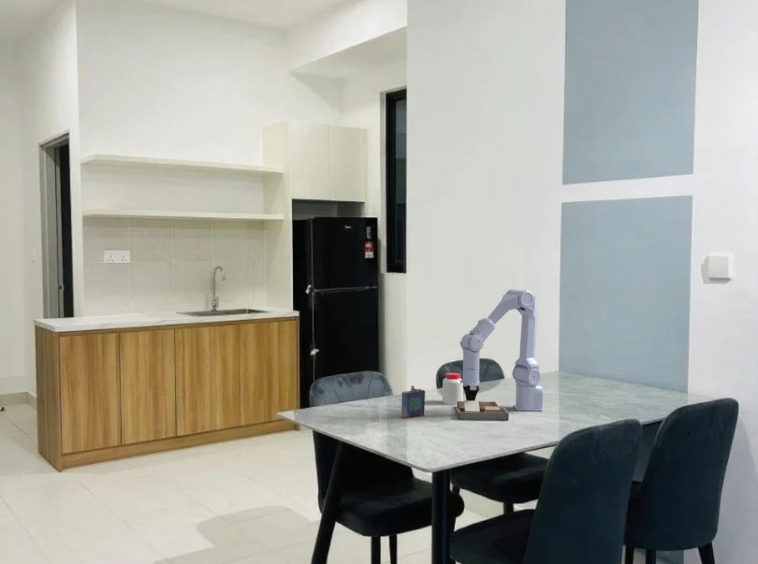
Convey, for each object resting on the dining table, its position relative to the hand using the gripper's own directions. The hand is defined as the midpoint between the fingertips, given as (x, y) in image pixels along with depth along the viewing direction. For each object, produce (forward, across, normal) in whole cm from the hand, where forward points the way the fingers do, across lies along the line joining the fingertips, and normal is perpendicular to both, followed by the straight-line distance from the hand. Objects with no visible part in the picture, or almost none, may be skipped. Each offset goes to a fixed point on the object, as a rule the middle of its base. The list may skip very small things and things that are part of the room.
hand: (470, 406), depth 255 cm
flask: (+3, +5, -20) cm, 21 cm away
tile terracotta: (+2, +3, +7) cm, 8 cm away
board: (+3, -6, +4) cm, 8 cm away
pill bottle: (+3, -19, -4) cm, 20 cm away
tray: (+3, +4, +4) cm, 6 cm away
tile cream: (+1, +3, 0) cm, 3 cm away
